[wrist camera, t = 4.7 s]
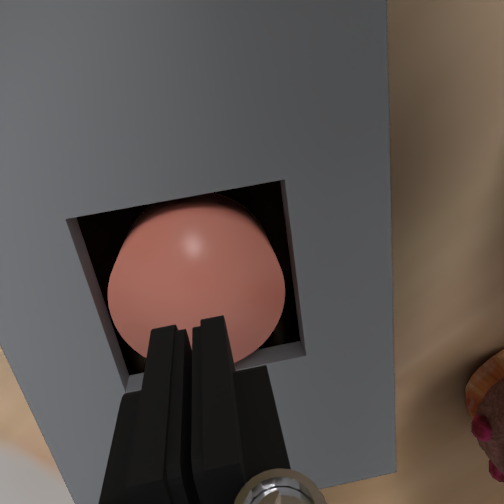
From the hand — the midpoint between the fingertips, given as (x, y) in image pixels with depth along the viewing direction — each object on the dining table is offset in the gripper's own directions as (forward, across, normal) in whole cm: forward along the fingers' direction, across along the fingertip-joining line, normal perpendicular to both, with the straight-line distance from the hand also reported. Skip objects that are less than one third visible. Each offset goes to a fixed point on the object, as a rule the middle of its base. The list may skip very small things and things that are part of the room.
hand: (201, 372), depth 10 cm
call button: (+8, 0, +1) cm, 8 cm away
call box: (+11, 0, +1) cm, 11 cm away
